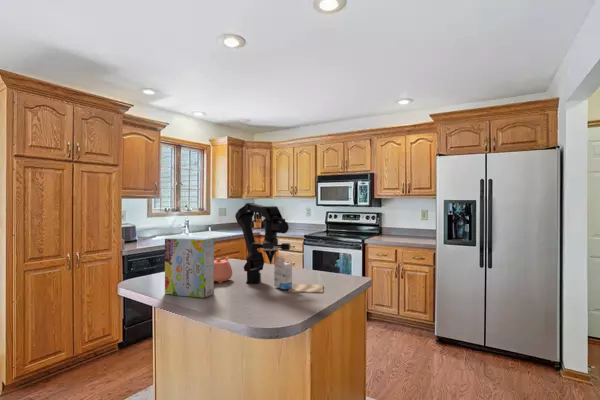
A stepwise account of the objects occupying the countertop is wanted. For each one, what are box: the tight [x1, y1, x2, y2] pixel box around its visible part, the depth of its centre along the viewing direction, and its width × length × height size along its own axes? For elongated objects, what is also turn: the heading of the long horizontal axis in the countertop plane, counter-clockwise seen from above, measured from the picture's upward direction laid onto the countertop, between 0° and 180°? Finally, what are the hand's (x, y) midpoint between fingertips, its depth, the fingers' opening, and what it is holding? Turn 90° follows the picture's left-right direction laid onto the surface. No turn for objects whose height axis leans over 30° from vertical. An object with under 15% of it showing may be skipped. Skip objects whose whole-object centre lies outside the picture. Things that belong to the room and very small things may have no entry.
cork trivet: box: [287, 283, 324, 294], centre depth 161 cm, size 16×13×1 cm
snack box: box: [164, 236, 215, 299], centre depth 152 cm, size 22×9×26 cm, turn 71°
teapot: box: [214, 256, 233, 284], centre depth 178 cm, size 13×20×12 cm, turn 164°
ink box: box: [273, 255, 293, 290], centre depth 162 cm, size 8×5×15 cm, turn 39°
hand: (270, 264), depth 163 cm, fingers closed
